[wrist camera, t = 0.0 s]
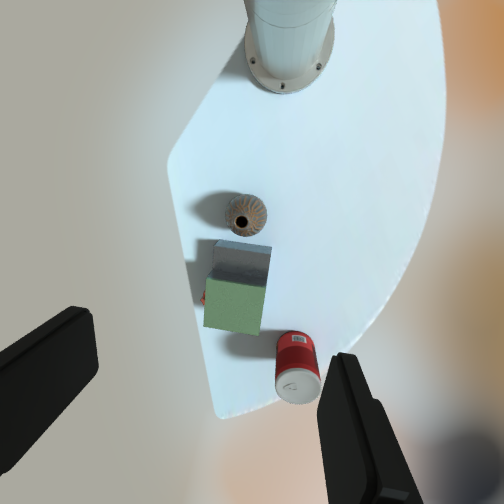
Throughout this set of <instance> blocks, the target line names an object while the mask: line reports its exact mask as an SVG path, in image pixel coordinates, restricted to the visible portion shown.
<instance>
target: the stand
mask: <svg viewBox="0 0 504 504" xmlns="http://www.w3.org/2000/svg"><path fill="white" fill-rule="evenodd" d="M271 250H272V247H267V246H260V245H253V244H247V243H240V242H233V241H226V240H219V241H218V242H217V243H216V244H215V245H214V255H213V269H212V271H211V272H210V274H209V275H208V277H207V278H206V290H205V291H204V293H203V297H202V298H201V301H202V303H203V305H205V308H204V325H203V327H209V328H215V329H221V330H227V331H232V332H238V333H244V334H250V335H256V336H259V331H260V324H261V318H262V311H263V304H264V298H265V291H266V284H267V277H268V270H269V264H270V257H271Z"/></svg>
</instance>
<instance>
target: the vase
mask: <svg viewBox="0 0 504 504" xmlns="http://www.w3.org/2000/svg"><path fill="white" fill-rule="evenodd" d="M225 219H226V223H227V225H228V227H229V228H230V230H231V231H232V232H234V233H235V234H237V235H239V236H243V237H249V236H253V235H255V234H257V233H258V232H260V231H261V230H262V229H263V227H264V225H265V223H266V220H267V210H266V207H265V205H264V203H263V202H262V201H261V200H260V199H259V198H258V197H256V196H254V195H250V194H243V195H239V196H237V197H235V198H234V199H233V200H231V202H230V203H229V204H228V206H227V208H226V212H225Z"/></svg>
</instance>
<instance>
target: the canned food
mask: <svg viewBox="0 0 504 504" xmlns="http://www.w3.org/2000/svg"><path fill="white" fill-rule="evenodd" d="M275 389H276V392H277V394H278V395H279V396H280V398H282V399H283V400H285V401H287V402H289V403H292V404H306V403H310V402H312V401H314V400H315V399H316V398H318V396H319V395H320V393H321V379H320V374H319V368H318V363H317V357H316V352H315V347H314V343H313V341H312V340H311V338H310V337H309V336H308V335H306V334H305V333H302V332H298V331H292V332H288V333H285V334H284V335H282V336H281V337H280V339H279V341H278V342H277V346H276V369H275Z"/></svg>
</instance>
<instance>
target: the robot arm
mask: <svg viewBox="0 0 504 504" xmlns="http://www.w3.org/2000/svg"><path fill="white" fill-rule="evenodd" d="M244 3H245V7H246V11H247V16H248V23H247V26H246V31H245V42H244V47H245V54H246V59H247V62H248V65H249V68H250V70H251V72H252V74H253V75H254V77H255V78H256V80H257V81H258V82H259V83H260V84H261V85H262V86H264V87H265V88H267V89H268V90H270V91H273V92H275V93H281V94H289V93H295V92H298V91H301V90H303V89H305V88H307V87H308V86H309V85H311V84H312V83H313V82H314V81H315V80H316V79H317V78H318V77H319V76H320V75H321V73H322V72H323V70H324V69H325V67H326V65H327V63H328V61H329V58H330V56H331V53H332V50H333V44H334V37H335V27H334V20H333V16H332V15H333V12H334V9H335V6H336V3H337V0H244ZM253 61H255V64H252V62H253ZM317 67H319V69H320V70H316V68H317ZM281 86H284V89H281ZM98 368H99V364H98V357H97V348H96V341H95V332H94V324H93V316H92V314H91V313H90V311H89V310H88V309H87V308H82V307H76V306H70V307H68V308H66V309H65V310H64V311H62V312H60V313H59V314H57V315H56V316H54V317H53V318H51V319H50V320H48V321H47V322H45V323H44V324H42V325H41V326H39V327H37V328H36V329H34V330H33V331H31V332H30V333H28V334H27V335H25V336H24V337H22V338H21V339H19V340H18V341H16V342H15V343H13V344H12V345H10V346H9V347H7V348H6V349H4V350H3V351H1V352H0V476H1V475H2V474H3V473H6V472H8V471H9V470H10V469H11V468H12V467H14V465H15V464H16V463H17V462H18V461H19V460H20V459H21V458H22V457H23V455H24V454H25V453H26V452H27V451H28V450H29V449H30V448H31V447H32V445H33V444H34V443H35V442H36V441H37V440H38V439H39V438H40V436H41V435H42V434H43V433H44V432H45V431H46V430H47V429H48V427H49V426H50V425H51V424H52V423H53V422H54V421H55V420H56V419H57V417H58V416H59V415H60V414H61V413H62V412H63V411H64V409H66V407H67V406H68V405H69V404H70V403H71V402H72V401H73V400H74V399H75V397H76V396H77V395H78V394H79V393H80V392H81V391H82V390H83V388H84V387H85V386H86V385H87V384H88V383H89V382H90V380H92V378H93V377H94V376H95V375H96V373H97V371H98ZM317 422H318V429H319V436H320V443H321V451H322V458H323V466H324V473H325V480H326V487H327V495H328V502H329V504H423V501H422V498H421V496H420V494H419V491H418V489H417V486H416V484H415V482H414V479H413V477H412V474H411V472H410V470H409V467H408V465H407V462H406V460H405V458H404V455H403V453H402V451H401V448H400V446H399V444H398V441H397V439H396V437H395V434H394V431H393V429H392V427H391V424H390V422H389V419H388V417H387V415H386V412H385V410H384V408H383V406H382V404H381V402H380V401H379V400H378V399H373V397H372V395H371V392H370V390H369V387H368V384H367V382H366V379H365V377H364V374H363V372H362V369H361V366H360V364H359V362H358V359H357V357H356V356H355V355H353V354H347V353H342V352H339V353H338V354H337V356H334V355H333V356H332V358H331V362H330V366H329V369H328V373H327V376H326V380H325V383H324V387H323V390H322V394H321V398H320V401H319V404H318V408H317Z"/></svg>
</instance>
